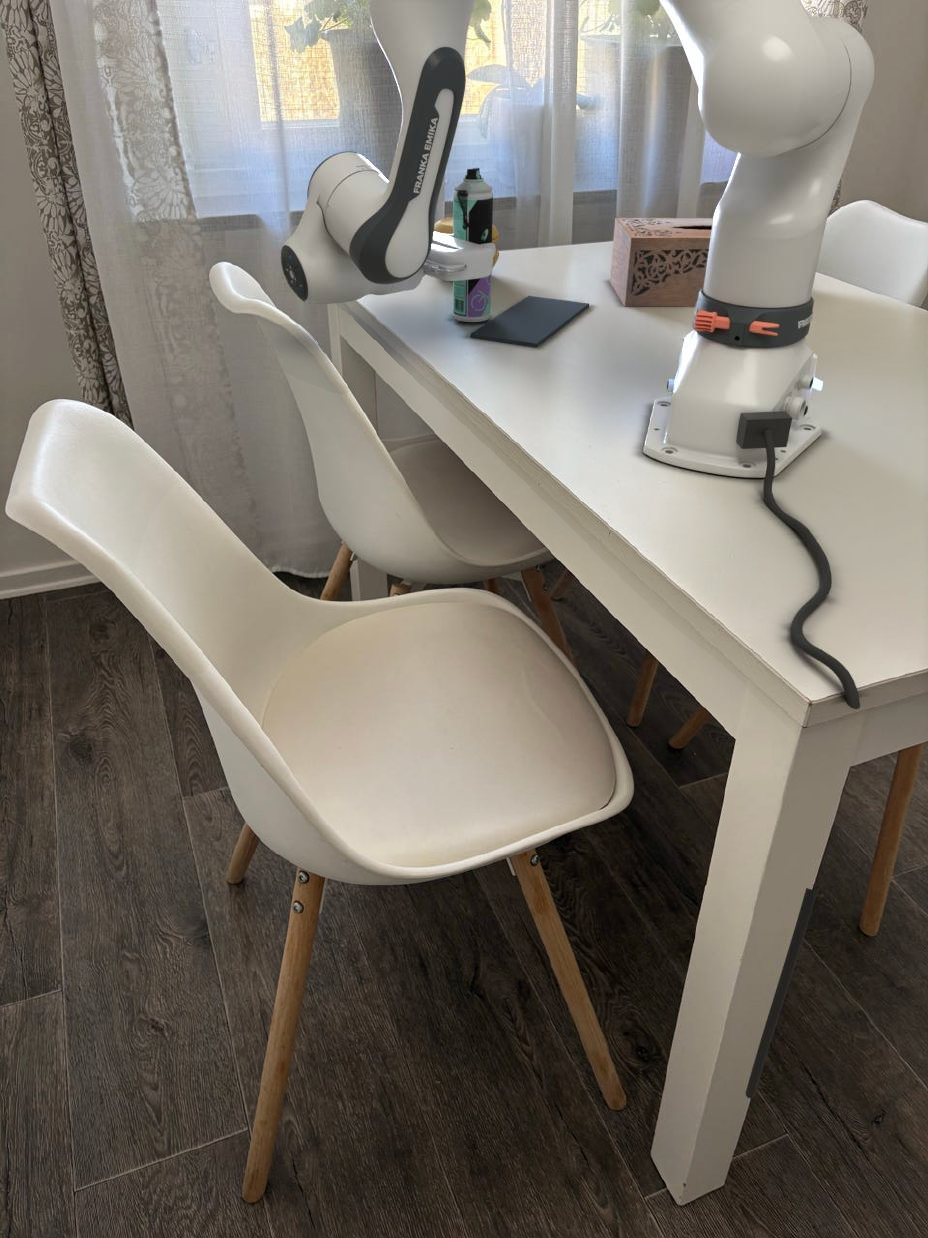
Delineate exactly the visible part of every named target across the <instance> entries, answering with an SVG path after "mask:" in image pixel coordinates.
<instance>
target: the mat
mask: <svg viewBox="0 0 928 1238" xmlns="http://www.w3.org/2000/svg"><path fill="white" fill-rule="evenodd" d="M588 308H590V303H589V302H580V301H574V300H573V301H572V300H567V299H566V300H565V299H557V298H551V297H550V298H549V297H542V296H533V295H528V296H526V297H525V298H523V299H522V300H520V301H518V302H517V303H516V304H514V305H512V306H510V307H509V308H507V309H506V310H505V311H503V312H502V313H500V314H498V315H497V316H495V317H494V318H492V319H490V320H489V321H487V322H486V323H485V324H483V325H481V326H479V327H478V328H476V329H475V330H474V331H472V332H471V333H470V334H469V337H470V338H472V339H478V340H479V339H480V340H485V341H493V342H500V343H505V344H511V345H520V346H526V347H533V348H538V347H539V346H540V345H542V344H543V343H544V342H545V341H547V340H549V338H551V337H552V336H553V335H554V334H556V333H557V332H558V331H560V330H561V329H562V328H564V327H565V326H566V325H568V324H569V323H570V322H571V321H573V320H574V319H575V318H576V317H577V316H579V315H580V314H581V313H583V312H584V311H586V310H587V309H588Z"/></svg>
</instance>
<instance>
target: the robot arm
mask: <svg viewBox="0 0 928 1238" xmlns="http://www.w3.org/2000/svg"><path fill="white" fill-rule="evenodd" d="M658 1H659V2H660V5H661V6H662V8H663V9H664V11H665V12H666V14H667V16H668V18H669V19H670V21H671V23H672V26H673V27H674V29H675V31H676V34H677V36H678V38H679V40H680V43H681V45H682V47H683V51H684V54H685V55H686V58H687V62H688V63H689V67H690V69H691V72H692V75H693V77H694V79H695V82H696V85H697V88H698V109H699V115H700V119H701V121H702V124H703V126H704V128H705V129H706V132H707V133H708V135H709V136H710V137H711V139H712V140H713V141H714V142H715V143H717V144H718V145H719V146H721V147H723V148H724V149H726V150H728V151H731V152H733V153H737V155H736V158H735V161H734V164H733V168H732V171H731V174H730V176H729V179H728V182H727V185H726V186H725V190H724V191H723V193H722V196H721V198H720V199H719V201H718V203H717V205H716V208H715V210H714V213H713V217H712V218H713V223H712V230H711V237H710V245H709V252H708V259H707V266H706V274H705V281H704V287H703V288H702V289H700V291H699V295H698V300H697V302H696V305H695V306H694V310H693V311H694V313H693V314H694V316H693V320H692V324H691V326H692V330H691V331H690V332H688V333H686V334H685V335H684V336H683V337H681V341H680V350H679V357H678V365H677V371H676V373H675V374H676V375H675V378H674V379H672V378H669V379H668V381H667V382H666V390H667V392H669V393H672V395H666V396H665V395H664V396H659V397H656V398H655V399H654V401H653V406H652V410H651V414H650V418H649V422H648V423H649V424H648V427H647V431H646V436H645V440H644V444H643V449H642V451H643V454H644V455H646V456H648V457H650V458H652V459H654V460H657V461H660V462H662V463H665V464H668V465H672V466H676V467H680V468H684V469H688V470H693V471H698V472H701V473H709V474H715V475H722V476H726V477H727V476H729V477H738V478H750V479H751V478H752V479H753V478H754V479H755V478H758V479H760V478H761V479H762V478H763V479H764V480H763V498H764V501H765V503H766V506H767V508H768V509H769V510H770V512H772V513H773V515H775V516H776V517H777V518H778V519H779V520H781V522H782V523H784V524H785V525H786V526H788V527H790V528H792V529H793V530H795V531H796V532H797V533H798V534H799V535H800V536H801V537H802V539H803V540H804V542H805V543H806V545H807V547H808V548H809V550H810V551H811V553H812V555H813V556H814V558H815V560H816V562H817V564H818V567H819V570H820V585H819V586H820V587H819V589H818V590H817V591H816V593H815V594H814V595H813V596H812V597H810V599H808V600H807V601H806V602H805V603H804V604H803V605H802V606H801V607H800V608H799V609H798V611H797V612H796V613H795V614H794V617H793V618H792V621H791V626H790V630H791V636H792V640H793V642H794V644H795V645H796V646H797V648H798V649H800V650H801V651H802V653H805V654H806V655H808V656H810V657H811V658H813V659H815V660H816V661H818V662H820V663H821V664H823V665H824V666H825V667H827V669H829V670H830V671H831V672H832V673H834V675H835V676H836V677H837V678H838V680H839V682H840V684H841V687H842V688H843V691H844V695H845V699H846V704H847V706H848V707H850V708H851V709H853V710H859V709H860V707H861V702H860V701H861V700H860V696H859V692H858V689H857V685H856V683H855V680H854V678H853V676H852V675H851V673H850V671H848V669H847V668H846V667H845V665H843V663H841V662H840V661H839V660H838V659H836V658H835V657H834V656H832V655H831V654H829V653H828V652H826V651H825V650H822V649H821V648H819V647H817V646H816V645H814V644H812V643H811V642H810V641H809V640H808V639H807V638H806V636H805V635H804V630H803V628H804V627H803V626H804V623H805V621H806V619H807V618H808V617H809V616H810V615H811V614H812V613H813V611H815V610H816V609H817V608H818V607H819V606H820V605H821V604H822V603H823V602H824V601H825V600H826V598H827V597H828V595H829V593H830V591H831V590H832V584H833V578H832V577H833V576H832V571H831V570H832V569H831V565H830V562H829V560H828V557H827V555H826V553H825V552H824V549H823V548H822V547H821V545H820V543H819V542H818V540H817V538H816V537H815V536H814V534H813V533H812V532H811V531H810V529H809V528H808V527H807V526H806V525H805V524H803V523H802V522H801V521H799V520H797V519H796V518H794V517H793V516H791V515H789V514H788V513H786V512H785V511H784V510H783V509H782V508H781V507H780V506H779V505H778V504H777V501H776V500H775V497H774V493H773V483H774V478H775V477H776V476H777V475H779V474H780V473H781V472H782V471H783V470H784V469H785V468H786V467H787V466H789V465H790V464H791V463H792V462H793V461H794V460H795V459H797V457H799V456H800V455H801V454H802V453H803V452H804V451H805V450H806V449H807V448H808V447H810V446H811V445H812V444H813V443H814V442H815V441H816V440H817V439H818V438H819V437H820V436H821V435H822V429H823V425H822V423H820V422H819V421H817V420H815V419H814V418H811V417H809V410H810V403H811V399H812V394H813V389H816V390H817V391H822V389H823V383H824V381H822V380H820V379H818V378H817V377H816V371H817V366H818V365H817V364H818V355H817V354H816V353H815V351H814V350H813V349H812V348H811V347H810V344H809V342H808V341H807V338H806V337H807V336H808V334H809V332H810V328H811V322H812V320H813V315H814V303H815V298H813V296H812V294H813V293H812V292H813V288H814V283H815V278H816V273H817V270H818V269H817V268H818V263H819V259H820V254H821V249H822V244H823V239H824V234H825V229H826V226H827V221H828V218H829V214H830V211H831V207H832V204H833V202H834V198H835V195H836V192H837V189H838V186H839V184H840V181H841V178H842V175H843V172H844V170H845V167H846V164H847V161H848V157H849V154H850V152H851V148H852V145H853V141H854V138H855V135H856V133H857V129H858V126H859V122H860V119H861V115H862V111H863V109H864V106H865V104H866V102H867V100H868V98H869V96H870V94H871V91H872V87H873V84H874V80H875V79H874V78H875V69H876V68H875V59H874V54H873V51H872V49H871V48H870V45H869V43H868V42H867V41H866V39H865V38H864V36H863V35H862V34H861V33H860V32H859V30H857V29H856V28H855V27H854V26H853V25H851V24H849V23H848V22H846V21H844V20H842V19H840V18H837V17H831V16H812V14H811V13H809V11H808V10H807V9H806V8H805V6H804V4H803V3H802V0H658ZM476 2H477V0H369V6H368V7H369V8H368V9H369V10H368V11H369V18H370V22H371V26H372V29H373V32H374V36H375V38H376V39H377V40H376V41H377V42H378V45H379V46H380V48H381V50H382V52H383V53H384V56H385V58H386V60H387V62H388V63H389V66H390V68H391V71H392V74H393V76H394V79H395V82H396V84H397V88H398V91H399V96H400V101H401V108H402V109H401V110H402V111H401V113H402V115H401V125H400V131H399V135H398V140H397V143H396V148H395V152H394V156H393V160H392V164H391V169H390V172H389V173H390V174H389V178H388V179H387V177H386V176H385V175H384V174H383V173H382V172H381V171H380V170H379V169H378V168H377V167H375V166H374V165H373V164H372V163H371V162H370V161H369V160H368V159H366V157H365V156H363V155H362V154H360V153H358V152H355V151H350V150H349V151H339V152H337V153H333V154H331V155H330V156H329V157H327V158H325V159H324V160H323V161H322V162H320V163H319V165H317V166H316V168H315V169H314V170H313V172H312V175H311V177H310V179H309V183H308V186H307V192H306V193H307V196H306V197H307V198H306V204H305V207H304V210H303V212H302V216H301V218H300V221H299V223H298V225H297V227H296V229H295V231H294V232H293V233H292V235H290V236H289V237H288V238H287V240H285V241H284V243H283V245H282V246H281V249H280V265H281V269H282V272H283V276H284V277H285V279H286V283H287V284H288V286H289V287H290V289H291V290H292V292H293V293H294V294H295V296H297V298H299V299H300V300H301V301H302V302H304V303H305V304H306V303H307V304H311V305H332V304H333V305H334V304H340V303H341V304H342V303H348V302H353V301H357V300H360V299H362V298H363V297H365V296H368V295H374V296H385V295H391V294H396V293H402V292H407V291H413V290H415V289H416V288H418V286H420V284H421V282H422V280H423V278H424V277H425V276H429V277H432V278H435V279H437V280H440V281H444V282H445V281H446V282H453V281H461V280H470V279H478V278H485V277H488V276H489V275H490V274H491V275H492V273H493V268H494V267H493V257H494V256H495V251H496V248H497V246H496V243H495V244H494V243H491V242H482V243H479V244H475V243H472V242H469V241H465V240H462V239H458V238H455V237H453V234H441V233H438V232H435V231H434V225H435V223H436V222H435V219H436V211H437V205H438V202H439V201H438V200H439V197H440V193H441V189H442V186H443V181H444V177H445V174H446V170H447V166H448V162H449V158H450V155H451V151H452V147H453V143H454V139H455V136H456V132H457V129H458V128H457V127H458V124H459V119H460V115H461V112H462V108H463V107H462V106H463V103H464V97H465V92H466V91H465V90H466V81H467V78H466V77H467V75H466V65H465V58H466V46H467V45H466V44H467V38H468V32H469V27H470V22H471V18H472V15H473V10H474V7H475V4H476ZM492 267H493V268H492ZM817 894H818V890H814V889H811V888H809V887H806V888H805V891H804V894H803V898H802V901H801V905H800V908H799V913H798V916H797V920H796V923H795V926H794V929H793V933H792V935H791V940H790V943H789V946H788V949H787V952H786V956H785V960H784V962H783V966H782V969H781V973H780V976H779V979H778V982H777V986H776V988H775V989H776V990H775V992H774V994H773V998H772V1002H771V1005H770V1007H769V1012H768V1015H767V1018H766V1021H765V1025H764V1028H763V1031H762V1034H761V1038H760V1041H759V1045H758V1047H757V1051H756V1054H755V1057H754V1060H753V1061H754V1062H753V1065H752V1069H751V1072H750V1075H749V1079H748V1082H747V1086H746V1090H745V1096H746V1097H747V1098H748V1099H751V1100H752V1099H754V1098H755V1095H756V1092H757V1089H758V1086H759V1083H760V1079H761V1075H762V1072H763V1069H764V1066H765V1063H766V1060H767V1059H766V1058H767V1055H768V1053H769V1049H770V1045H771V1043H772V1039H773V1036H774V1033H775V1030H776V1027H777V1025H778V1021H779V1018H780V1013H781V1011H782V1007H783V1005H784V1002H785V998H786V995H787V993H788V989H789V987H790V982H791V980H792V976H793V973H794V971H795V966H796V963H797V961H798V957H799V954H800V950H801V947H802V944H803V941H804V937H805V934H806V931H807V928H808V924H809V921H810V918H811V915H812V912H813V908H814V904H815V901H816V898H817Z"/></svg>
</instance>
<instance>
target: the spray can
mask: <svg viewBox="0 0 928 1238" xmlns="http://www.w3.org/2000/svg"><path fill="white" fill-rule="evenodd" d="M464 176H465V177H463V178H462V181H461V182H459V183H458V184H457V185H455V186H453V190H454V191H453V193H452V196H453V197H452V198H453V199H452V203H453V204H452V207H453V208H452V217H453V237H455V238H458V239H462V240H465V241H469V242H472V243H475V244H479V243H482V242H491V243H492V224H494V223H493V221H494V219H493V216H494V193H493V186H492V185H489V184H488V183H487V182H485V179H484V177H482V175H481V174H480V167H473V168H467V169H466V174H465V175H464ZM491 307H492V273H491V274H490V275H489V276H488V277H485V278H478V279H470V280H461V281H452V314H453V318H454V320H456V321H461V322H467V323H480V322H484V321H487V320H490V319H491V314H492V313H491V311H492V308H491Z"/></svg>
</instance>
